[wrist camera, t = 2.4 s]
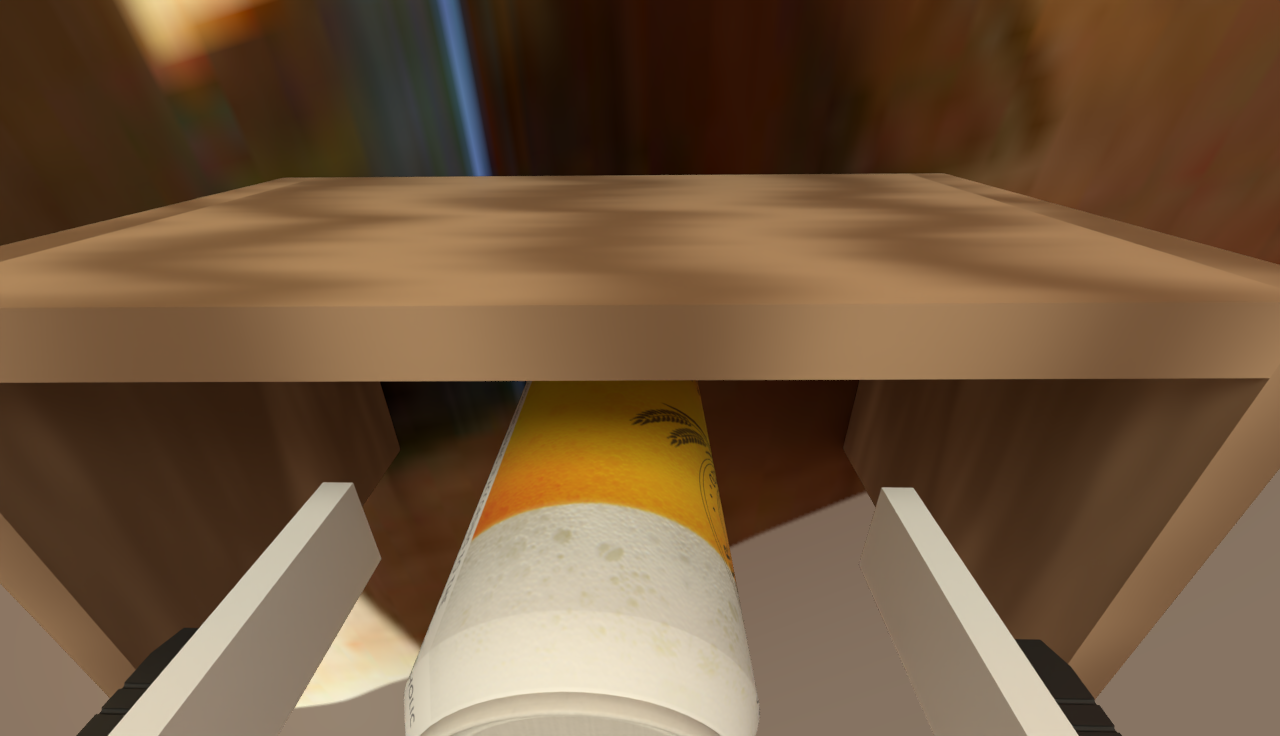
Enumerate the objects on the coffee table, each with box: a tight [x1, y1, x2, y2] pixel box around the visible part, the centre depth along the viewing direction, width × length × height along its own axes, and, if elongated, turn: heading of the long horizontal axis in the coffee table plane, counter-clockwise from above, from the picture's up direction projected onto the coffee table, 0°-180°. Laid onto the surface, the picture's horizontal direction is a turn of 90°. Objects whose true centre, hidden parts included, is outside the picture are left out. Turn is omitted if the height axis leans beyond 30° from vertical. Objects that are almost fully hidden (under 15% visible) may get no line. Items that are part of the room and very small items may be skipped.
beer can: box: [404, 380, 760, 736], centre depth 14 cm, size 6×6×15 cm
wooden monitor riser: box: [0, 173, 1280, 699], centre depth 15 cm, size 23×12×12 cm, turn 90°
